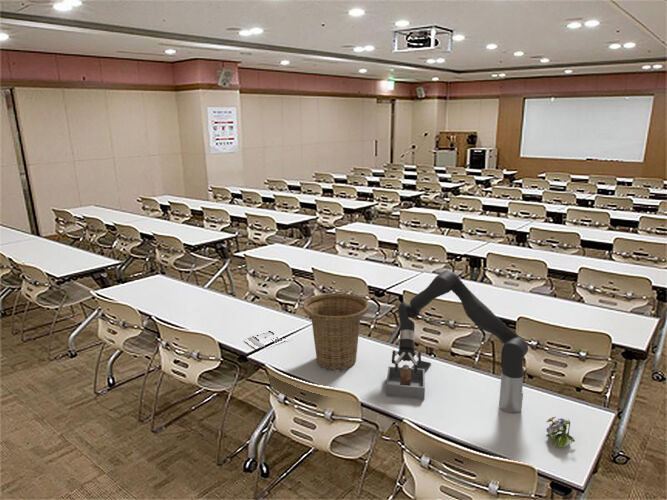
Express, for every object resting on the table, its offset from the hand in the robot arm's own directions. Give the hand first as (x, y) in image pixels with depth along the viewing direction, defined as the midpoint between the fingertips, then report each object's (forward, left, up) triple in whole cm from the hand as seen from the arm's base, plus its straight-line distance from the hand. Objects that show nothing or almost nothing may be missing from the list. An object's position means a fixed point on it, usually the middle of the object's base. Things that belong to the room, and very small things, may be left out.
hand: (405, 372), depth 235 cm
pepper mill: (0, -1, -8) cm, 8 cm away
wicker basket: (+38, -23, -9) cm, 45 cm away
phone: (-7, -21, -9) cm, 24 cm away
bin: (0, -1, -9) cm, 9 cm away
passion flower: (-63, +30, -9) cm, 70 cm away
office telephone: (+84, -43, -9) cm, 95 cm away
